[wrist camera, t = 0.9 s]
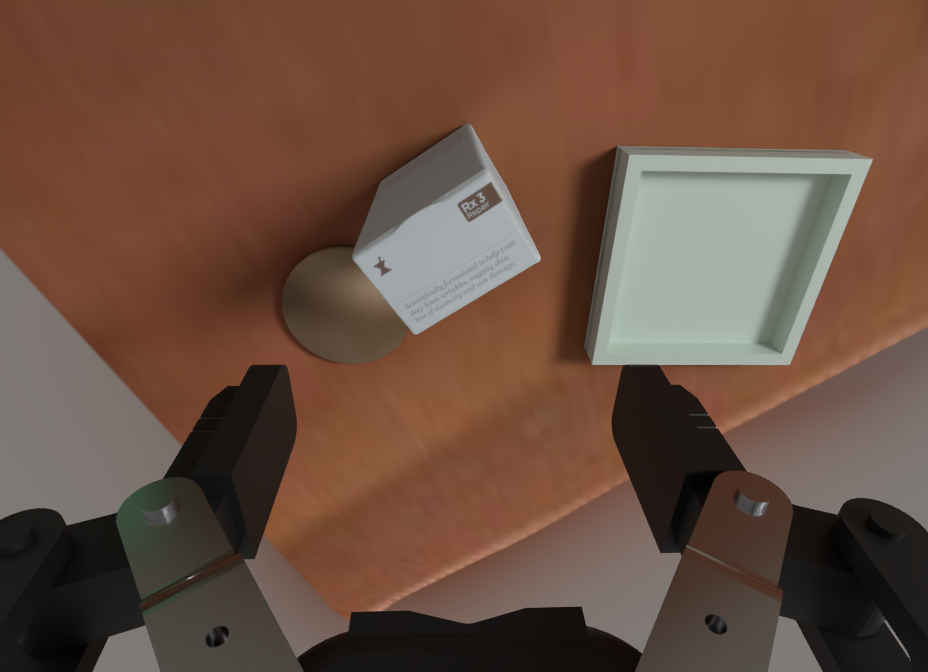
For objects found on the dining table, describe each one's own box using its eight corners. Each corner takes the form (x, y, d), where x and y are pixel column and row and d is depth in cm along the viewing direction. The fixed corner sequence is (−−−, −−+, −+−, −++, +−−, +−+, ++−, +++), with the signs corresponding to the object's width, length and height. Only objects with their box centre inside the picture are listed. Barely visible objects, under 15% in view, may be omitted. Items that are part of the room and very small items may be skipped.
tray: (617, 145, 29) (629, 154, 28) (845, 150, 30) (872, 159, 28) (584, 346, 36) (592, 364, 34) (771, 346, 37) (789, 364, 35)
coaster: (274, 245, 32) (271, 249, 31) (410, 246, 32) (409, 250, 31) (293, 358, 36) (291, 363, 35) (413, 358, 36) (412, 363, 36)
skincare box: (422, 240, 32) (413, 348, 21) (376, 176, 30) (342, 262, 19) (511, 183, 30) (549, 270, 20) (469, 112, 28) (486, 167, 18)
